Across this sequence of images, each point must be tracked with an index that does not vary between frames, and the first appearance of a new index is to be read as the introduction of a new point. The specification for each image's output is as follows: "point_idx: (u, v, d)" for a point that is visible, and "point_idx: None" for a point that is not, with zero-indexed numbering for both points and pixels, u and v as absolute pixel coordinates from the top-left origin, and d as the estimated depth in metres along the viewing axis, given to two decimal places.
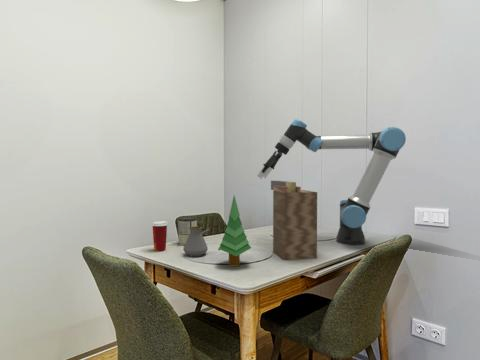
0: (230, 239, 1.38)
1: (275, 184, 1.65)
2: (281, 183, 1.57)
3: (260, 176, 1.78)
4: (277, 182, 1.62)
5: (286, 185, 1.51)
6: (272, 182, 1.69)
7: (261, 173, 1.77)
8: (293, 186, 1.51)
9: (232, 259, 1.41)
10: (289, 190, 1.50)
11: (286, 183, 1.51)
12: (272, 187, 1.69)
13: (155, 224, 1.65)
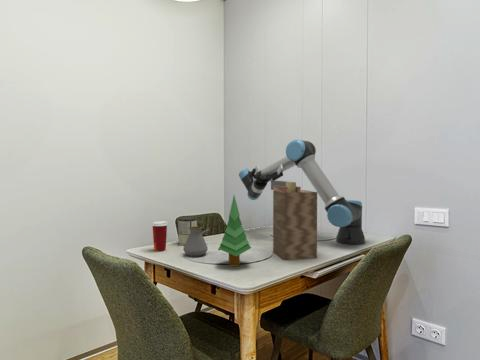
0: (230, 239, 1.38)
1: (275, 184, 1.65)
2: (281, 183, 1.57)
3: (256, 166, 1.80)
4: (277, 182, 1.62)
5: (286, 185, 1.51)
6: (272, 182, 1.69)
7: (256, 169, 1.82)
8: (293, 186, 1.51)
9: (232, 259, 1.41)
10: (289, 190, 1.50)
11: (286, 183, 1.51)
12: (272, 187, 1.69)
13: (155, 224, 1.65)
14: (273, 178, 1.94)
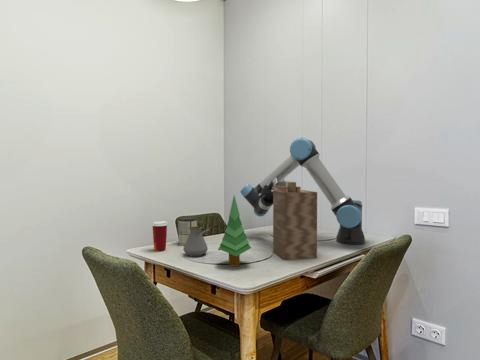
0: (230, 239, 1.38)
1: None
2: (281, 183, 1.57)
3: (274, 180, 1.63)
4: (277, 182, 1.62)
5: (286, 185, 1.51)
6: None
7: (274, 183, 1.65)
8: (293, 186, 1.51)
9: (232, 259, 1.41)
10: (289, 190, 1.50)
11: (286, 183, 1.51)
12: None
13: (155, 224, 1.65)
14: None
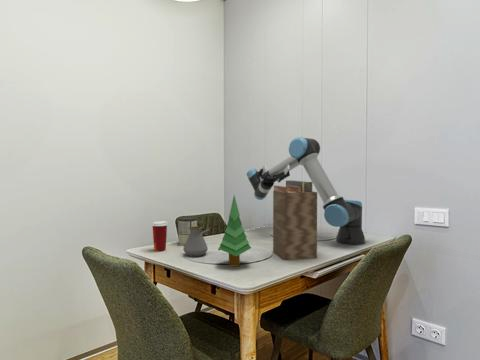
0: (230, 239, 1.38)
1: (290, 183, 1.67)
2: (297, 183, 1.59)
3: (264, 167, 1.84)
4: (293, 182, 1.64)
5: (302, 185, 1.53)
6: (287, 182, 1.71)
7: (263, 169, 1.85)
8: (310, 186, 1.53)
9: (232, 259, 1.41)
10: (305, 190, 1.52)
11: (302, 183, 1.53)
12: None
13: (155, 224, 1.65)
14: (280, 178, 1.97)
